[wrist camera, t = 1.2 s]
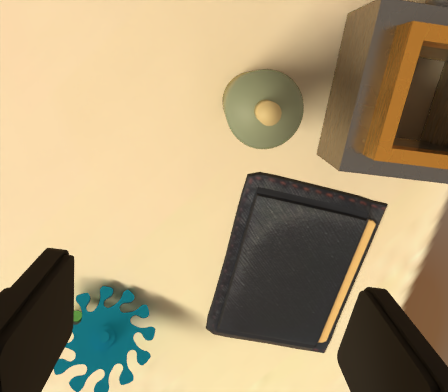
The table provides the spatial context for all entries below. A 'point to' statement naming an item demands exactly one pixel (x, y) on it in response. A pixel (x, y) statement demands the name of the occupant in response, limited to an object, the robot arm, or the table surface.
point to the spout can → (263, 108)
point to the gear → (104, 339)
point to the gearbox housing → (387, 92)
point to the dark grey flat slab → (291, 262)
